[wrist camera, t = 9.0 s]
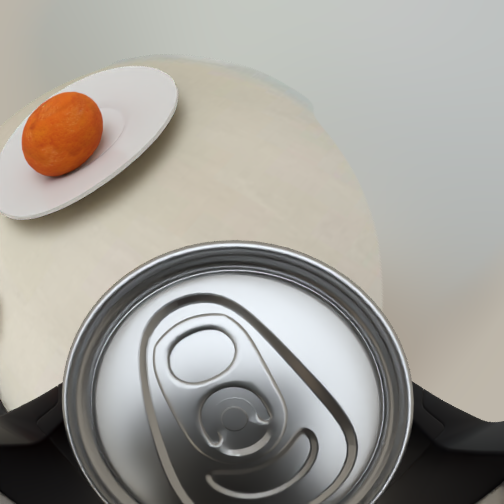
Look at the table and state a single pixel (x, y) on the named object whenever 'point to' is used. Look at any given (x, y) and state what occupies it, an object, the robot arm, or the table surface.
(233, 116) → the table surface
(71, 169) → the plate
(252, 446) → the soda can
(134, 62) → the table surface
